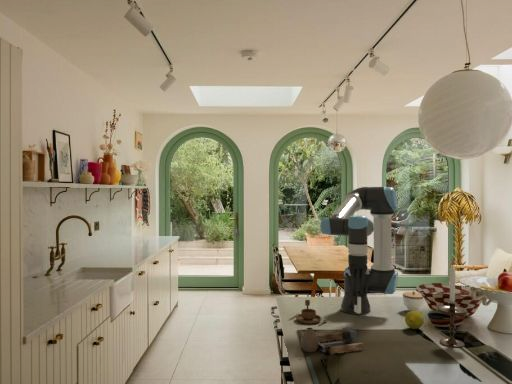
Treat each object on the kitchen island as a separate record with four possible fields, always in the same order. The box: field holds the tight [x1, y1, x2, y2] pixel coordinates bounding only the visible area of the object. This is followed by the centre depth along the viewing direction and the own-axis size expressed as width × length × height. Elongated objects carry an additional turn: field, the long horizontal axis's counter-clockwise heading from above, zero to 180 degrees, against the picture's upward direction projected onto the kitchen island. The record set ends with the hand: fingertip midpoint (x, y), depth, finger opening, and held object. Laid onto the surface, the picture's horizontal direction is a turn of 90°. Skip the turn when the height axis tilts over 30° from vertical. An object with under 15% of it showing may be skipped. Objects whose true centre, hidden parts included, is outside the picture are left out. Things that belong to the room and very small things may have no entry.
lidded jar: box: [402, 290, 425, 312], centre depth 221 cm, size 11×11×9 cm
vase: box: [300, 327, 319, 353], centre depth 163 cm, size 7×7×9 cm
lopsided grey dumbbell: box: [317, 326, 358, 353], centre depth 167 cm, size 16×9×6 cm, turn 110°
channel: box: [316, 331, 364, 355], centre depth 168 cm, size 14×14×3 cm
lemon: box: [404, 310, 425, 330], centre depth 190 cm, size 11×8×8 cm
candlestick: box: [437, 258, 468, 349], centre depth 171 cm, size 11×11×35 cm
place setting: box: [289, 299, 328, 327], centre depth 206 cm, size 18×20×6 cm
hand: (357, 312), depth 171 cm, fingers closed
